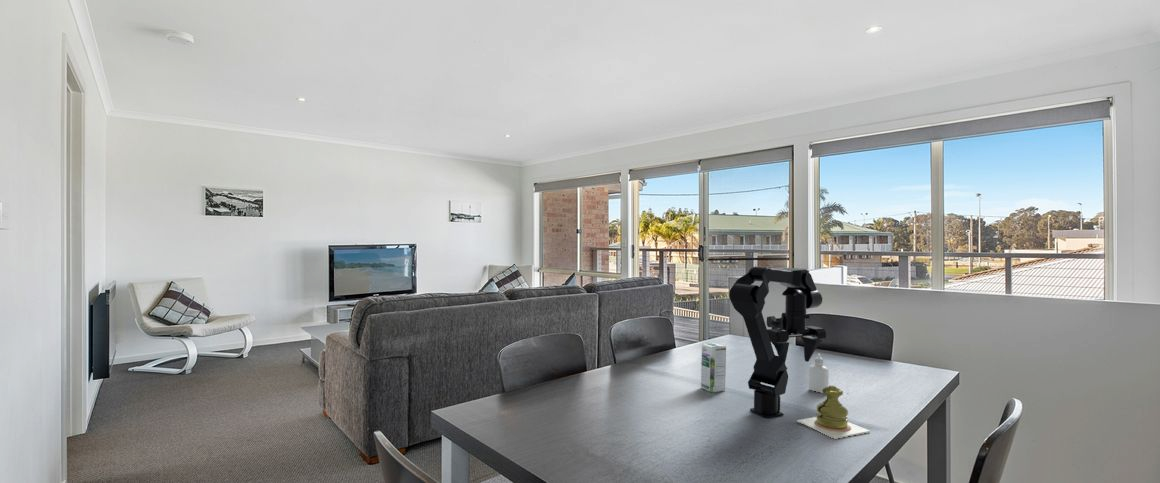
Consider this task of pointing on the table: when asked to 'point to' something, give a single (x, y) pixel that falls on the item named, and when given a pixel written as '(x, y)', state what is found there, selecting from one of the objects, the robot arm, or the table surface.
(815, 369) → the eye dropper bottle
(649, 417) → the table surface
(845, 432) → the card
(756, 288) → the robot arm
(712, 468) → the table surface
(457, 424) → the table surface
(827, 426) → the brass door knob
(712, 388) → the syrup box
